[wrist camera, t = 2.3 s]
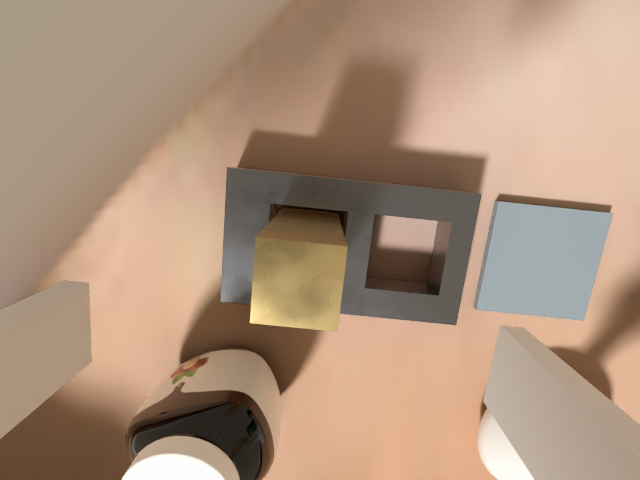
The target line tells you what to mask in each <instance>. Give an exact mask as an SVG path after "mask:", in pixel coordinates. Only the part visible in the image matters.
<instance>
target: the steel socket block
mask: <svg viewBox="0 0 640 480" xmlns="http://www.w3.org/2000/svg"><path fill="white" fill-rule="evenodd" d="M480 199H481V194H478V193H473V192H467V191H460V190H450V189H441V188H431V187H422V186H412V185H403V184H393V183H384V182H374V181H365V180H355V179H346V178H336V177H327V176H317V175H308V174H298V173H289V172H279V171H270V170H260V169H251V168H241V167H227V180H226V200H225V220H224V240H223V260H222V280H221V300H220V302H229V303H239V304H249V305H251V297H252V282H253V267H254V253H255V238H256V236H257V235H258V234H259V233H260V232H261V231H262V230H263V228H264V227H265V226H266V225H267V224H268V223H269V222H270V221H271V220H272V219H273V218H274V215H275V204H281V205H291V206H301V207H310V208H320V209H329V210H339V211H345V217H344V226H343V233H344V236H345V239H346V242H347V245H348V250H347V258H346V266H345V274H344V282H343V290H342V299H341V307H340V314H350V315H360V316H370V317H380V318H390V319H400V320H410V321H420V322H430V323H440V324H450V325H456V323H457V318H458V312H459V307H460V302H461V297H462V292H463V287H464V282H465V276H466V271H467V266H468V261H469V256H470V251H471V245H472V240H473V235H474V230H475V225H476V220H477V215H478V209H479V204H480ZM375 214H378V215H387V216H397V217H406V218H416V219H426V220H435V221H438V225H437V231H436V236H435V242H434V248H433V254H432V260H431V265H430V271H429V277H428V283H424V282H414V281H404V280H394V279H384V278H374V277H366V275H367V268H368V260H369V253H370V246H371V238H372V231H373V224H374V216H375Z"/></svg>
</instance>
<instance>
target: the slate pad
mask: <svg viewBox="0 0 640 480" xmlns="http://www.w3.org/2000/svg"><path fill="white" fill-rule="evenodd" d="M612 215H613V213H607V212H598V211H589V210H579V209H570V208H560V207H551V206H541V205H532V204H522V203H513V202H503V201H495V204H494V209H493V214H492V219H491V223H490V228H489V233H488V238H487V243H486V248H485V253H484V258H483V263H482V268H481V273H480V278H479V283H478V288H477V293H476V298H475V303H474V308H475V309H476V310H483V311H493V312H503V313H513V314H523V315H533V316H543V317H553V318H563V319H572V320H582V321H584V318H585V314H586V310H587V307H588V303H589V299H590V296H591V292H592V288H593V285H594V281H595V277H596V274H597V270H598V266H599V263H600V259H601V255H602V251H603V248H604V244H605V240H606V237H607V233H608V229H609V226H610V222H611V218H612Z"/></svg>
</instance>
